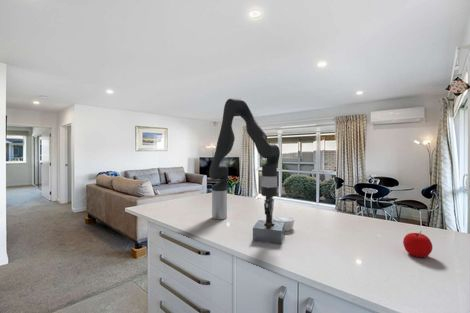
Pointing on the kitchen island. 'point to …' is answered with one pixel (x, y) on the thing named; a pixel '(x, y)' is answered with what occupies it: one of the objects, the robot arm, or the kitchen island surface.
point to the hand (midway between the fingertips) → (269, 221)
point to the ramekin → (285, 222)
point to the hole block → (268, 232)
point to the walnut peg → (271, 220)
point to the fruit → (417, 244)
